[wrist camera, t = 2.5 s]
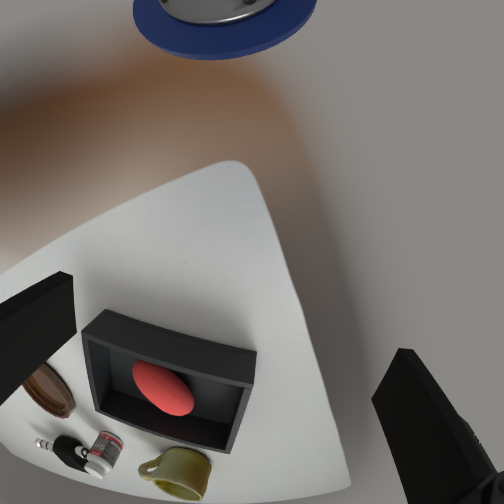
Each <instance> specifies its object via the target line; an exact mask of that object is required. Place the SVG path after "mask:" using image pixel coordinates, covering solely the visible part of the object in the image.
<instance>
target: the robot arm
mask: <svg viewBox="0 0 504 504" xmlns="http://www.w3.org/2000/svg"><path fill="white" fill-rule="evenodd" d="M158 1H159V3H160V5H161V6H162V8H163V9H164V10H165V12H166V13H167V14H168V15H169V16H170V17H171V18H173V19H175V20H176V21H178V22H181V23H184V24H187V25H191V26H197V27H220V26H227V25H232V24H237V23H240V22H244V21H247V20H249V19H252V18H254V17H257V16H258V15H260V14H262V13H264V12H266V11H267V10H269V9H270V8H271V7H272V6H274V5H275V4H276V3H277V2H278V1H279V0H158ZM76 333H77V329H76V319H75V307H74V291H73V275H70V274H67V273H64V272H61V271H59V272H57V273H55V274H53V275H51V276H49V277H47V278H45V279H43V280H42V281H40V282H38V283H36V284H34V285H32V286H30V287H29V288H27V289H25V290H23V291H21V292H20V293H18V294H16V295H14V296H13V297H11V298H9V299H7V300H6V301H4V302H2V303H1V304H0V406H1V405H2V404H3V403H4V402H5V401H6V400H7V399H8V398H9V397H10V396H11V395H12V394H13V393H14V392H15V391H16V390H17V389H18V388H19V387H20V386H21V385H22V384H23V383H24V382H25V381H26V380H27V379H28V378H29V377H30V376H31V375H32V374H33V373H34V372H35V371H36V370H37V369H38V368H39V367H40V366H41V365H42V364H43V363H44V362H45V361H47V360H48V359H49V358H50V357H51V356H52V355H53V354H54V353H55V352H56V351H57V350H58V349H60V348H61V347H62V346H63V345H64V344H65V343H66V342H67V341H68V340H69V339H71V338H72V337H73V336H74V335H75V334H76ZM371 400H372V402H373V405H374V408H375V410H376V413H377V415H378V418H379V420H380V423H381V426H382V428H383V431H384V434H385V437H386V439H387V442H388V445H389V448H390V450H391V453H392V456H393V459H394V462H395V465H396V468H397V471H398V474H399V476H400V480H401V483H402V486H403V489H404V492H405V495H406V498H407V502H408V504H504V471H502V472H500V473H498V472H497V471H496V469H495V468H494V466H493V464H492V462H491V460H490V459H489V457H488V455H487V453H486V452H485V450H484V448H483V447H482V445H481V443H480V444H479V440H478V439H477V437H476V435H475V436H474V432H473V430H472V429H471V427H470V425H469V424H468V423H467V422H466V421H465V420H464V419H463V418H461V417H460V416H459V415H458V414H457V412H456V410H455V409H454V407H453V406H452V404H451V403H450V401H449V400H448V398H447V397H446V395H445V394H444V392H443V391H442V389H441V388H440V387H439V385H438V383H437V382H436V381H435V379H434V378H433V376H432V375H431V373H430V372H429V371H428V369H427V368H426V366H425V365H424V364H423V362H422V361H421V359H420V358H419V357H418V355H417V354H416V353H415V351H414V350H412V349H402V348H398V350H397V352H396V354H395V356H394V358H393V360H392V362H391V364H390V366H389V368H388V370H387V372H386V374H385V376H384V378H383V379H382V381H381V383H380V385H379V386H378V388H377V390H376V392H375V393H374V395H373V397H372V398H371Z"/></svg>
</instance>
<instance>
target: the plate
mask: <svg viewBox="0 0 504 504" xmlns="http://www.w3.org/2000/svg"><path fill="white" fill-rule="evenodd" d="M22 386H23V387H24V389H25V390H26V392H27V393H28V394H29V395H30V397H31V398H32V399H33V400H34V401H35V402H36V403H37V404H38V405H39V406H40V407H42V408H43V409H44V410H45V411H47V412H48V413H50V414H52V415H53V416H55V417H59V418H62V419H64V418H68V417H69V416H70V415H71V414H72V412H73V410H74V406H75V405H74V402H73V399H72V396H71V394H70V393H69V391H68V389H67V388H66V386H65V385H64V383H63V382H62V381H61V380H60V378H59V377H58V376H57V375H56V374H55V373H54V372H53V371H52V370H51V369H50V368H49V367H48V366H47V365H45V364H44V363H43V364H42V365H41V366H40V367H39V368H38V369H37V370H36V371H35V372H34V373H33V374H32V375H31V376H30V377H29V378H28V379H27V380H26V381H25V382H24V383H23V384H22Z"/></svg>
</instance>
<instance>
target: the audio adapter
mask: <svg viewBox="0 0 504 504" xmlns="http://www.w3.org/2000/svg"><path fill="white" fill-rule="evenodd" d="M35 443H36V445H37V446H39V447H41V448H44V449H46V450H48V451H51V452H54V453H55V454H56V455H57V456H58V457H59V458H60V459H61V460H62V461H63V462H64V463H65V464H66V465H67V466H69V467H71V468H74V469H77V470H79V471H82V472H85V473H88V472H87V471H86V470H85V468H84V467H85V465H86V463H87V462H89V461H88V460H87V454H88V453H89V449H88V448H87V447H84V446H83V445H82V443H81V442H79V441H76V440H72V439H68V438H65V437H61V436H58V437H57V438H56V440H55V441H54V443H51V442H48V441H45V440H43V439H40V438H37V439H36V440H35ZM88 474H90V473H88Z"/></svg>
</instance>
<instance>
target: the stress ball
mask: <svg viewBox="0 0 504 504" xmlns="http://www.w3.org/2000/svg"><path fill="white" fill-rule="evenodd" d="M132 371H133V377H134V380H135V383H136V384H137V386H138V388H139V389H140V391H141V392H142V393H143V394H144V395H145V396H146V397H147V398H148V399H149V400H150V401H151V402H152V403H153V404H154V405H156V406H157V407H158V408H160V409H161V410H162V411H164V412H166V413H169V414H171V415H176V416H183V415H186V414H188V413H190V412H191V410H192V409H193V407H194V397H193V395H192V393H191V391H190V389H189V388H188V386H187V385H186V384H185V383H184V382H183V381H182V380H181V379H180V378H179V377H178V376H176V375H175V374H174V373H173V372H172V371H171V370H170V369H168V368H165V367H162V366H159V365H156V364H153V363H150V362H147V361H144V360H141V359H140V360H138V361H137V362H136V363H135V364H134V366H133V369H132Z"/></svg>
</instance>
